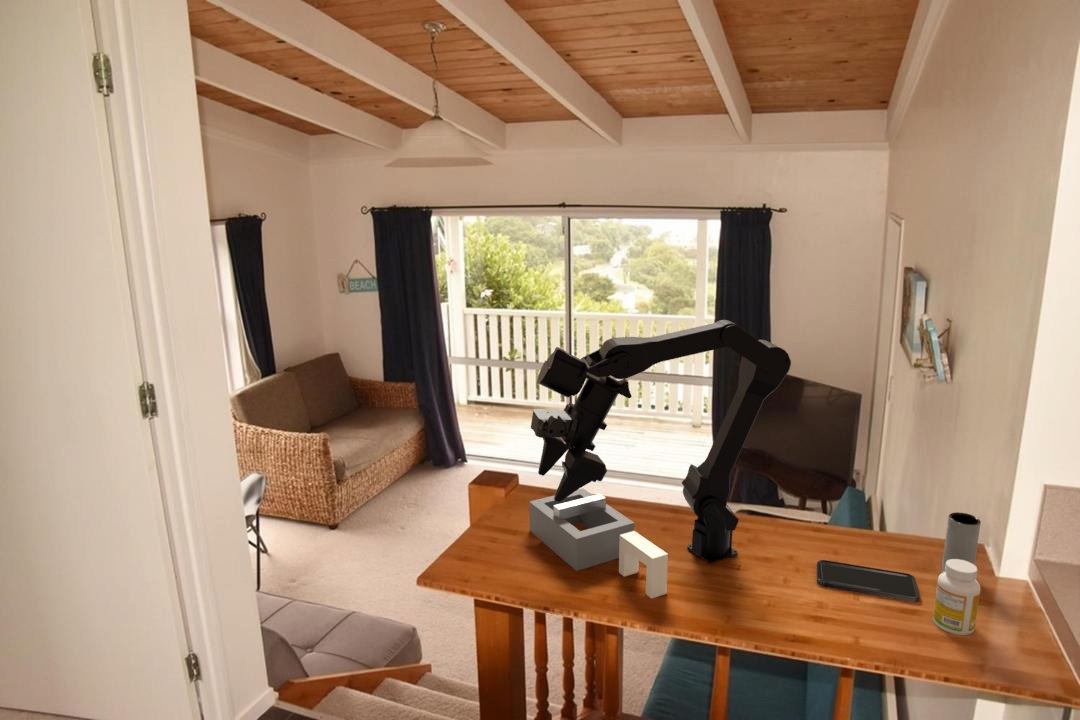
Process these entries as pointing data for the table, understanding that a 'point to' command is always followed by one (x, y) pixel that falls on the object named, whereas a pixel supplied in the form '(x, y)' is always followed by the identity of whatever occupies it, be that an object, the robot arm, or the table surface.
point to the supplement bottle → (957, 597)
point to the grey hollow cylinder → (961, 538)
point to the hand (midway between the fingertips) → (548, 487)
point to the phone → (867, 580)
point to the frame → (571, 542)
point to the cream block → (644, 562)
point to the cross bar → (579, 506)
